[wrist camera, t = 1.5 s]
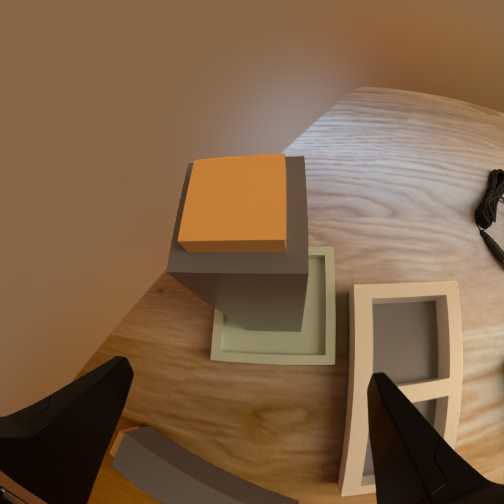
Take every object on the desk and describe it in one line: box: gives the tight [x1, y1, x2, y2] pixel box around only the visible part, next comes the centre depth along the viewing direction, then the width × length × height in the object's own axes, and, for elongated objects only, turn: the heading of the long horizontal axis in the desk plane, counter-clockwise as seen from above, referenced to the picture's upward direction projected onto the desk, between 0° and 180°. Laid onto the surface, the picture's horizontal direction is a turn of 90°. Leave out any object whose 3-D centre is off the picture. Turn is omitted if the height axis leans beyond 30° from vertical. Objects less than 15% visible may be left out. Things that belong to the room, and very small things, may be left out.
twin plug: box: [109, 425, 298, 504], centre depth 15 cm, size 15×4×4 cm, turn 64°
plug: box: [167, 154, 309, 332], centre depth 14 cm, size 4×4×15 cm
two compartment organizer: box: [337, 281, 463, 496], centre depth 16 cm, size 16×9×2 cm, turn 177°
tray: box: [211, 247, 336, 365], centre depth 21 cm, size 9×9×1 cm
